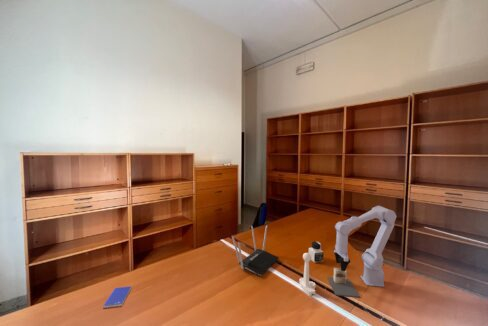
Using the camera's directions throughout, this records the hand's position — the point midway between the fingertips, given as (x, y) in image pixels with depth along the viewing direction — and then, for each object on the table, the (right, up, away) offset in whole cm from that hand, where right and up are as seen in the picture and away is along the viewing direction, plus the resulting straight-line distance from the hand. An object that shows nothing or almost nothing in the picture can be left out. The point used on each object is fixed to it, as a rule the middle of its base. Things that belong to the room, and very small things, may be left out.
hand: (340, 266), depth 114 cm
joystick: (-20, -10, -4) cm, 22 cm away
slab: (0, -9, +1) cm, 9 cm away
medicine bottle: (-6, -8, +24) cm, 26 cm away
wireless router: (-48, -8, +20) cm, 52 cm away
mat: (-1, -10, -3) cm, 10 cm away
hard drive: (-119, -10, -13) cm, 120 cm away
